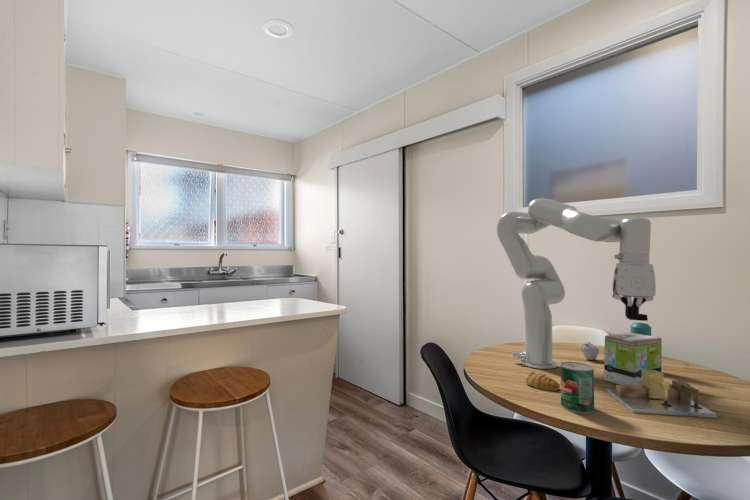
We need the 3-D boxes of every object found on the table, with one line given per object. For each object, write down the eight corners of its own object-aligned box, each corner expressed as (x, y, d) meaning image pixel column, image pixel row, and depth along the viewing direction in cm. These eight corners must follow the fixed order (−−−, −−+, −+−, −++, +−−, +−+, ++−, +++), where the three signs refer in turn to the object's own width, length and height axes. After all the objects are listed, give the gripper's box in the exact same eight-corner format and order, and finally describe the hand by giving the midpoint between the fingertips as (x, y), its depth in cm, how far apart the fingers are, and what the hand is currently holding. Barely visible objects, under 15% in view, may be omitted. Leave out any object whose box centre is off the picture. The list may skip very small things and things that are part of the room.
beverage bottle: (645, 367, 135) (644, 312, 136) (657, 372, 129) (656, 315, 129) (626, 366, 136) (625, 312, 137) (637, 372, 130) (636, 315, 130)
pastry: (563, 389, 112) (563, 376, 113) (553, 394, 108) (553, 381, 108) (534, 381, 120) (534, 369, 120) (523, 385, 116) (523, 373, 116)
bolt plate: (632, 412, 95) (632, 408, 95) (607, 393, 109) (607, 389, 109) (716, 418, 92) (716, 413, 92) (679, 397, 106) (679, 393, 106)
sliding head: (659, 404, 97) (658, 378, 97) (641, 393, 105) (641, 369, 105) (674, 405, 96) (674, 379, 97) (655, 393, 105) (655, 370, 105)
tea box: (636, 390, 111) (636, 341, 112) (603, 380, 120) (602, 335, 121) (662, 382, 118) (662, 336, 119) (629, 374, 127) (628, 331, 128)
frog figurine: (578, 357, 150) (578, 339, 150) (598, 358, 147) (597, 341, 147) (581, 360, 144) (580, 342, 144) (601, 362, 141) (601, 344, 142)
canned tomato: (600, 409, 97) (599, 367, 97) (584, 416, 92) (584, 372, 93) (570, 399, 103) (570, 360, 104) (554, 405, 99) (554, 364, 99)
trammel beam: (629, 403, 98) (629, 386, 98) (614, 392, 106) (614, 377, 107) (702, 408, 95) (702, 390, 96) (681, 396, 104) (681, 380, 104)
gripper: (612, 258, 109) (610, 320, 109) (669, 260, 106) (666, 323, 107) (601, 257, 117) (599, 315, 117) (654, 259, 114) (652, 318, 114)
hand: (631, 319), depth 112 cm, fingers closed
